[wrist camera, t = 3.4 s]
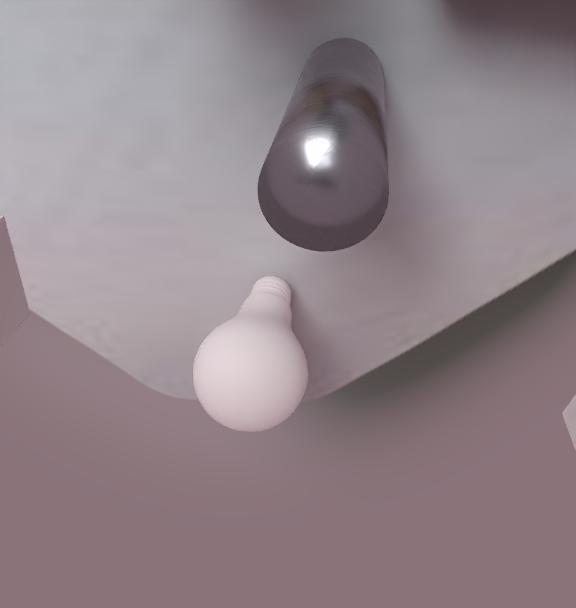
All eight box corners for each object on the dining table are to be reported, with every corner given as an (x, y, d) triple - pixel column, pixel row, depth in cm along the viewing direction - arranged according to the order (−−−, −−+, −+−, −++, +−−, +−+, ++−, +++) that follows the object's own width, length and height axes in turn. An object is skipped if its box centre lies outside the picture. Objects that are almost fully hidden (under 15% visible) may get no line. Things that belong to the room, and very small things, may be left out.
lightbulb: (337, 271, 32) (323, 408, 23) (295, 332, 35) (270, 469, 27) (249, 228, 31) (200, 356, 22) (215, 296, 34) (163, 428, 26)
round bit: (308, 31, 23) (264, 119, 14) (393, 46, 23) (404, 144, 14) (296, 117, 26) (252, 239, 17) (373, 130, 26) (371, 261, 17)
